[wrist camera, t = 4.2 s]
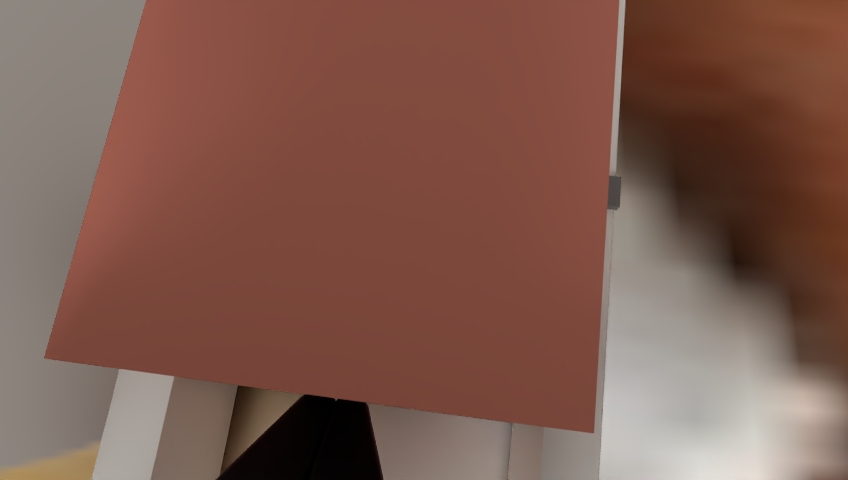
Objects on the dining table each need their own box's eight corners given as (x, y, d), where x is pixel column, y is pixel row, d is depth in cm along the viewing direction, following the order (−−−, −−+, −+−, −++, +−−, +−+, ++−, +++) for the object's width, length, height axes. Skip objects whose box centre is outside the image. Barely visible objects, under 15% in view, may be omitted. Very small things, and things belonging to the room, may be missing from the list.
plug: (502, 421, 14) (593, 433, 7) (244, 386, 15) (44, 358, 7) (525, 177, 16) (621, -43, 8) (292, 147, 16) (172, -93, 8)
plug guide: (541, 646, 14) (590, 745, 10) (148, 588, 14) (36, 660, 10) (593, -70, 19) (641, -205, 14) (301, -102, 19) (268, -244, 15)
